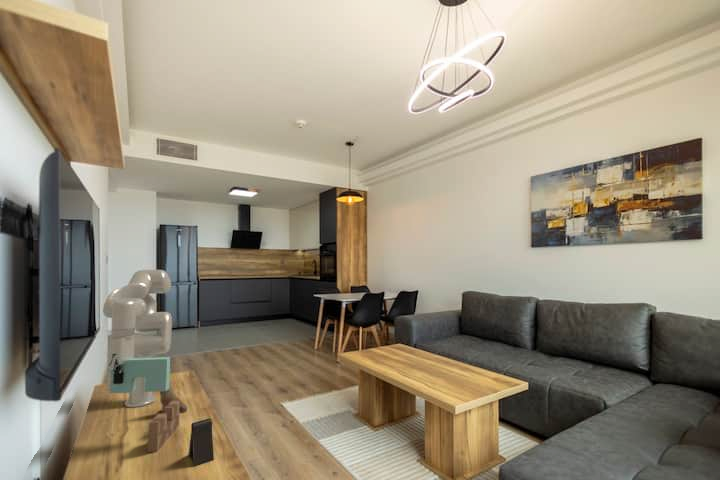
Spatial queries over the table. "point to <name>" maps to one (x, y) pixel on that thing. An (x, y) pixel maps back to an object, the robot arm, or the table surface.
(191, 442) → the phone stand
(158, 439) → the walnut board
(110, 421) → the table surface
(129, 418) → the table surface
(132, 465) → the table surface
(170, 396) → the brown carved statuette
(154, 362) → the teal board
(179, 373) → the table surface
